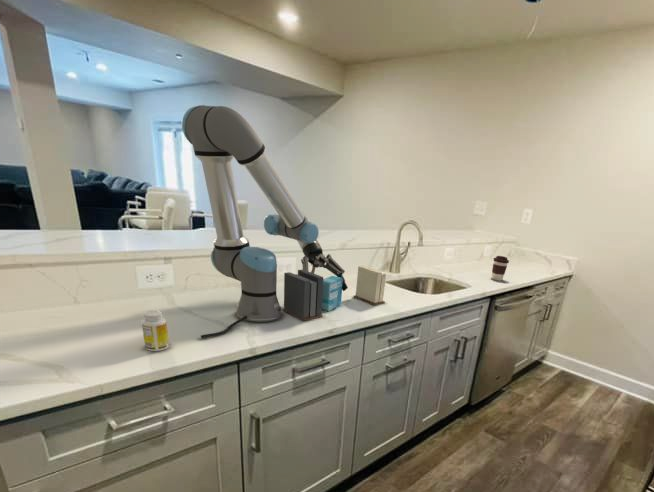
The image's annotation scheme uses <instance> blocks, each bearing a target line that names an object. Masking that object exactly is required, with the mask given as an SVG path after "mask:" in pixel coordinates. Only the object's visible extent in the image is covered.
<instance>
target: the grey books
mask: <svg viewBox="0 0 654 492" xmlns="http://www.w3.org/2000/svg"><path fill="white" fill-rule="evenodd" d="M283 278H284V279H283V308H282V310H283V311H284V312H286V313H288V314H290V315H292V316H293V317H296V318H298V319H299V320H302V321H304V322H305V321H309V320H314V319H319V318H322V317H323V314H322V312H323V310H322V294H323V279H324V276H322V275H319V274H317V273H315V272H314V273H311V272H309V270H308V271H306V270H303V268H302V269H297V273H296V274H295V273H292V272H291V271H289V272H284V274H283Z"/></svg>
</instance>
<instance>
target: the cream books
mask: <svg viewBox="0 0 654 492" xmlns="http://www.w3.org/2000/svg"><path fill="white" fill-rule="evenodd" d="M356 275H357V277H356V288H355V295H353V298H354V299H356V300H359V301H362V302H364V303H368V304H370V305H372V306H378V305H382V304H385V303H386V302H385V300H384V294H385V287H386V278H387V273H386V272H383V271H379V270H377V269H373V268H370V267H367V266H365V265H358V267H357V274H356Z"/></svg>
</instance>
